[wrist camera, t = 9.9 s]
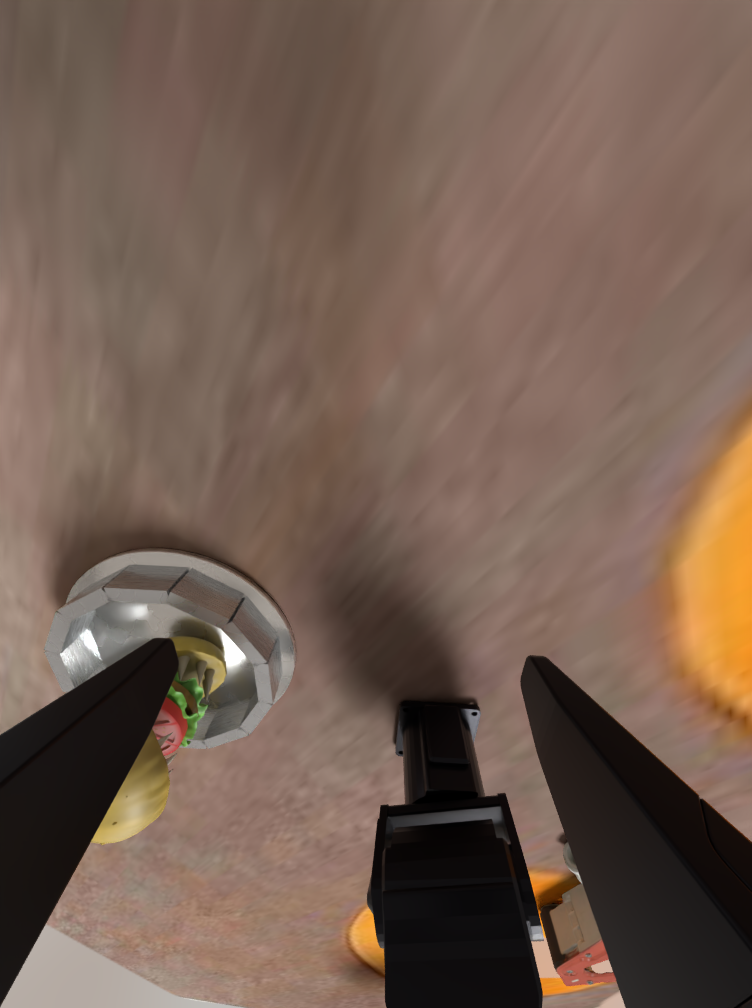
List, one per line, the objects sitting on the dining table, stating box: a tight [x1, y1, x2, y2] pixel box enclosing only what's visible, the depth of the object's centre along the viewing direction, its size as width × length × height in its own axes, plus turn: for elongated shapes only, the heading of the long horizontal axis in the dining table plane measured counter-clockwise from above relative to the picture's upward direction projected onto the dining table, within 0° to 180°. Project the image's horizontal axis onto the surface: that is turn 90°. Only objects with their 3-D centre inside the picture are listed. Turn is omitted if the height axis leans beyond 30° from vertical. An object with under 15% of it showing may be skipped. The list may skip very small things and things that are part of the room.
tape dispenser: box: [540, 842, 616, 986], centre depth 38 cm, size 18×5×20 cm
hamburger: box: [91, 636, 227, 845], centre depth 20 cm, size 8×7×12 cm
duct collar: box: [44, 548, 296, 749], centre depth 25 cm, size 17×17×3 cm
